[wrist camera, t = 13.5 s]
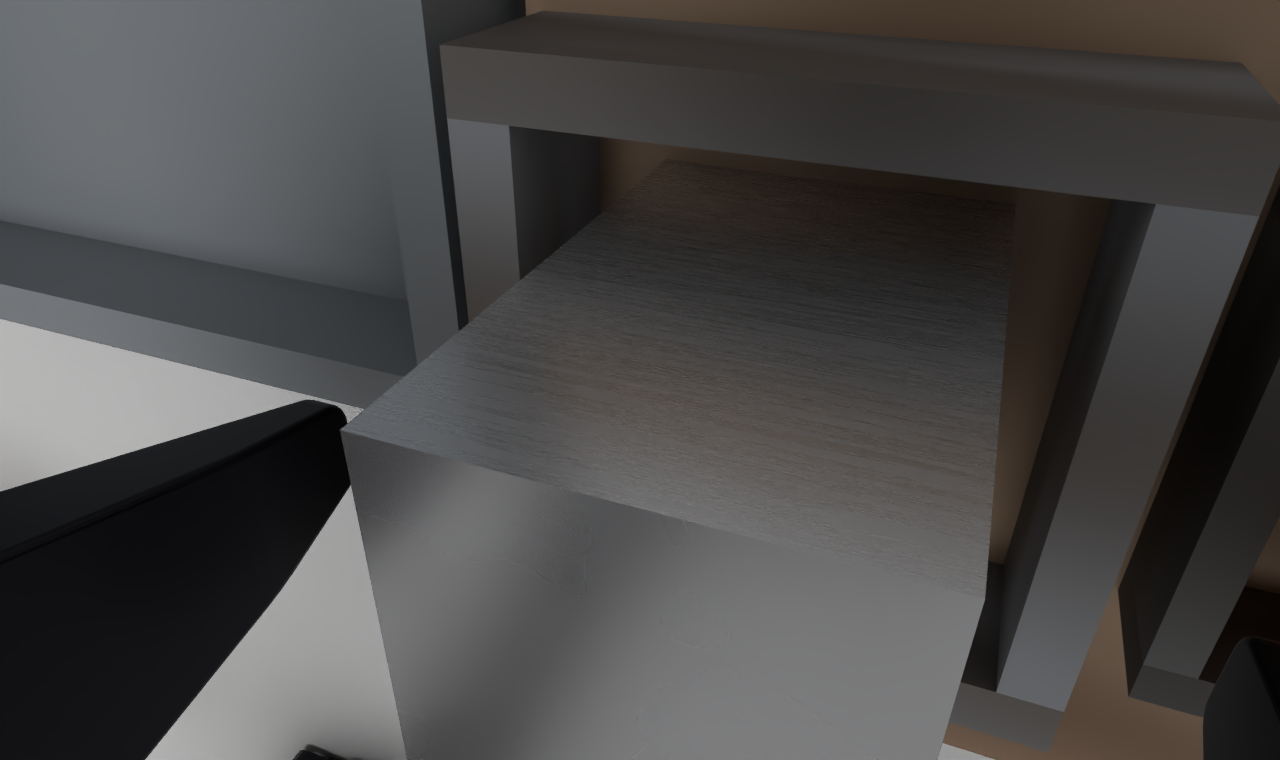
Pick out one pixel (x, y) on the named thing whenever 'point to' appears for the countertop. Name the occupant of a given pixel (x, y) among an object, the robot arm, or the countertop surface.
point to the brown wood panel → (1038, 294)
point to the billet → (699, 481)
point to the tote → (236, 182)
